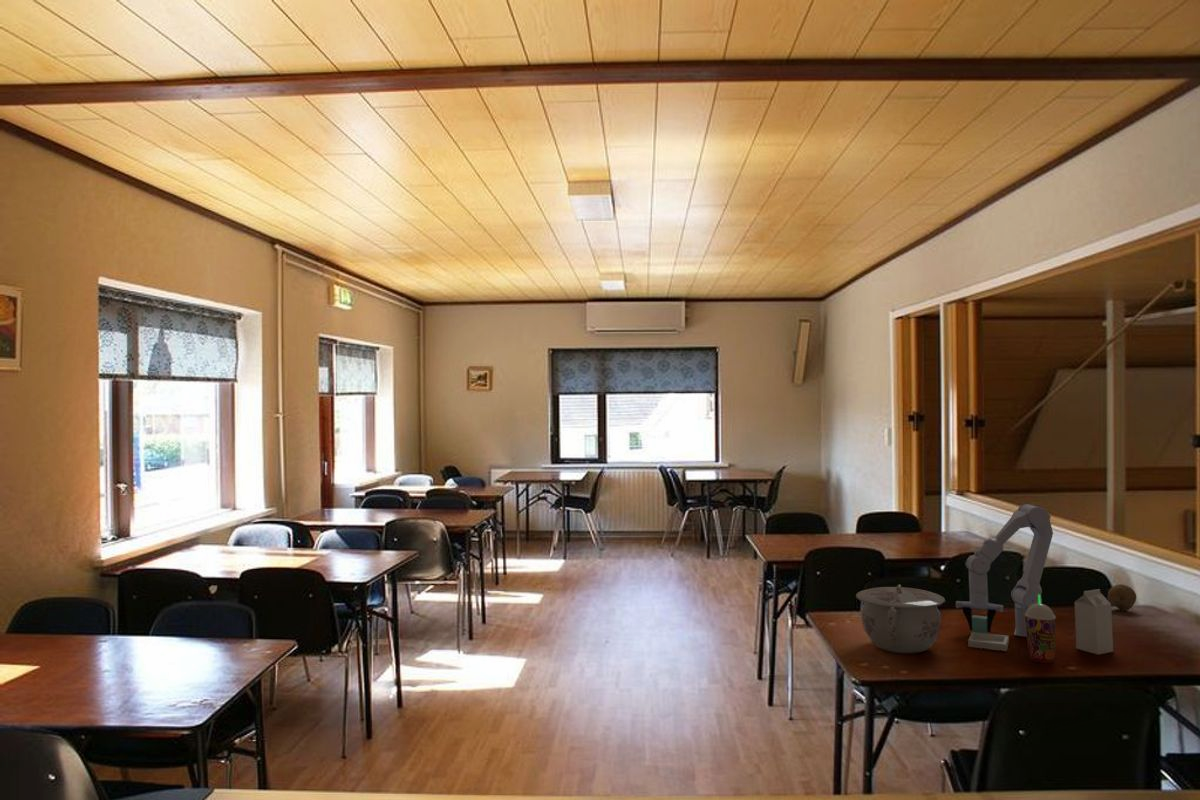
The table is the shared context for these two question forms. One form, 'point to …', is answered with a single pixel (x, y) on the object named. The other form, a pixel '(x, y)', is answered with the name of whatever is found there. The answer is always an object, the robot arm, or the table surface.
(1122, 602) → the brown coconut
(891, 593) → the chamber pot
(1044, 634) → the smoothie
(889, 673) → the table surface
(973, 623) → the block
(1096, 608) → the milk carton
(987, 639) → the tray
